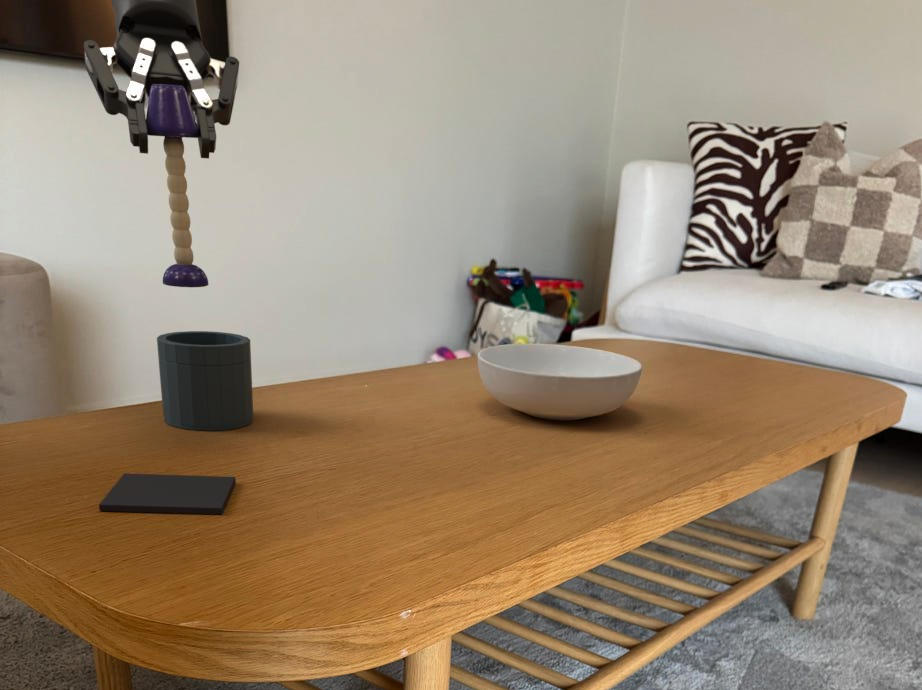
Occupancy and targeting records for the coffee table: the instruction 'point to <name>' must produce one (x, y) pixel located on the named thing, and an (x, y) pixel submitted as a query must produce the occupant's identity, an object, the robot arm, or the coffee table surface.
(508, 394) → the serving bowl
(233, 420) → the jar
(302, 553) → the coffee table surface
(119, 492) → the mat
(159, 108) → the toy lamp
